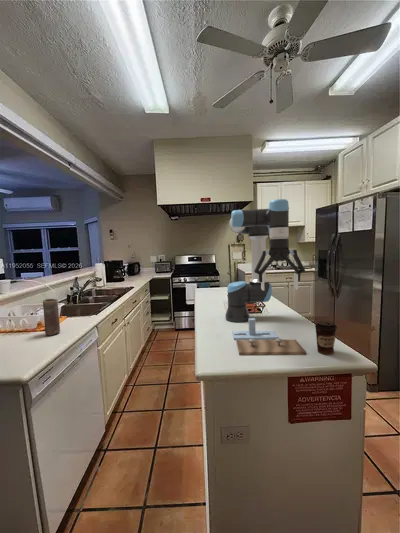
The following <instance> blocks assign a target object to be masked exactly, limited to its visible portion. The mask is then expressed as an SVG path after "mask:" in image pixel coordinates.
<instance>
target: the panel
mask: <svg viewBox="0 0 400 533" xmlns="http://www.w3.org/2000/svg"><path fill="white" fill-rule="evenodd" d="M232 338H233V340H234V341H237V340H249V339H255V340H276V339H277V338H279V335H278V334H277V332H276V331H275V330H256V318H255V317H251V318H248V330H244V331H243V330H242V331H241V330H237V331H236V330H235V331H234V330H233V331H232Z"/></svg>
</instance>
